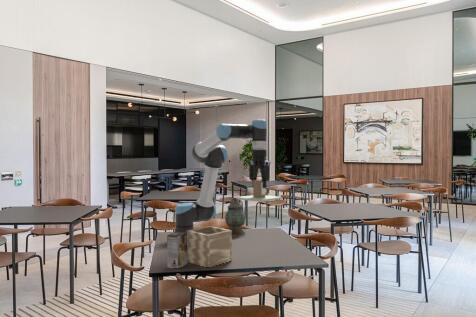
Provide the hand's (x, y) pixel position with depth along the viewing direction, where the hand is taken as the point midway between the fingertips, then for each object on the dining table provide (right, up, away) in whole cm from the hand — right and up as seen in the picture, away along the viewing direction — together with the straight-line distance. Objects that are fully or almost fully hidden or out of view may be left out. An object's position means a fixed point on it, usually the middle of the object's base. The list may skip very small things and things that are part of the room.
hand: (259, 193), depth 191 cm
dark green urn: (-13, -34, +65) cm, 74 cm away
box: (-26, -35, -2) cm, 43 cm away
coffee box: (-41, -35, -10) cm, 55 cm away
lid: (0, -3, 0) cm, 3 cm away
